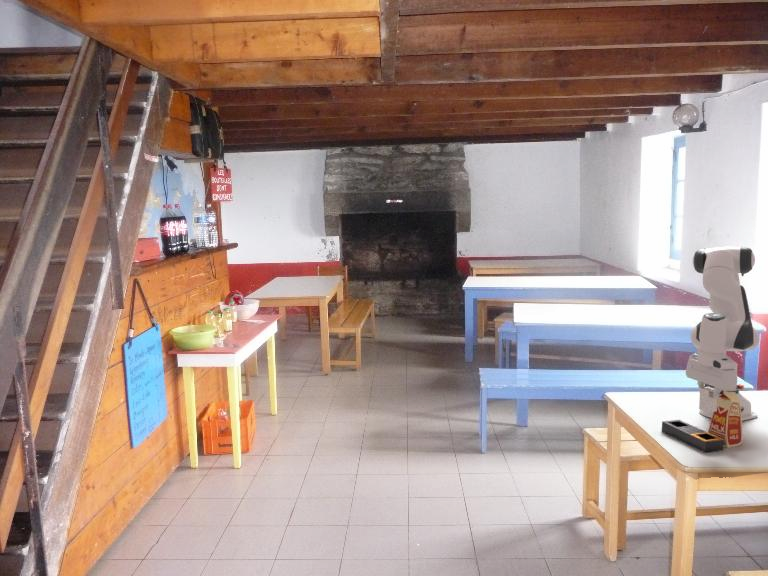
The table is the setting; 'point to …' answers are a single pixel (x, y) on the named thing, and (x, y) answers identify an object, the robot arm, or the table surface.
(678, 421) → the box with square holes
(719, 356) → the robot arm
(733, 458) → the table surface
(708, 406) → the grey square block
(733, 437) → the milk carton
